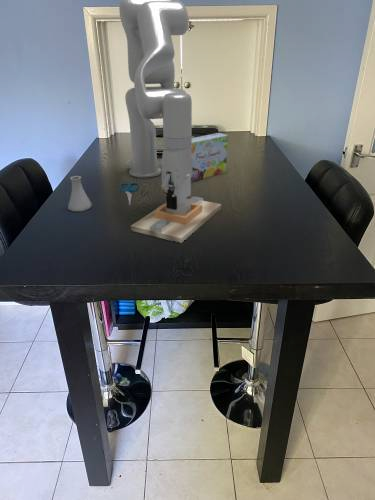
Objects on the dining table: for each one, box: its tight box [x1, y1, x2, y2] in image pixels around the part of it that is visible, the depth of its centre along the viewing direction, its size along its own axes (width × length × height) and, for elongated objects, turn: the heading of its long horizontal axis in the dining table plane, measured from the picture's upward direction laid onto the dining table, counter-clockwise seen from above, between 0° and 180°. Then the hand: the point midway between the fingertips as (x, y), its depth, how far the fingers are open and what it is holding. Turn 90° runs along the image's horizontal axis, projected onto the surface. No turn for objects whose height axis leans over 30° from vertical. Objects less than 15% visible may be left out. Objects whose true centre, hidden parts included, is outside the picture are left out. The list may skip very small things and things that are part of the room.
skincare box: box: [167, 174, 192, 216], centre depth 109 cm, size 6×4×12 cm
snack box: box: [191, 132, 229, 183], centre depth 143 cm, size 21×6×15 cm, turn 131°
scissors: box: [119, 182, 140, 206], centre depth 130 cm, size 7×1×20 cm
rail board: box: [130, 196, 222, 244], centre depth 112 cm, size 16×26×4 cm, turn 152°
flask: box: [67, 175, 93, 212], centre depth 118 cm, size 7×7×10 cm
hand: (178, 203), depth 110 cm, fingers closed on skincare box, 7 cm apart
